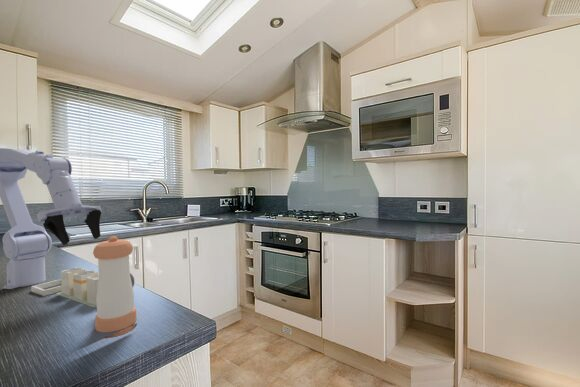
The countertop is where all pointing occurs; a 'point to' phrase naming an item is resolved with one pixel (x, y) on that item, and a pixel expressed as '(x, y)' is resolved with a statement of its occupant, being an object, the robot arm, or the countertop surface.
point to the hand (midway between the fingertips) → (82, 240)
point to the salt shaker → (114, 288)
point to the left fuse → (69, 279)
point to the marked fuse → (81, 283)
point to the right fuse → (92, 288)
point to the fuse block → (77, 298)
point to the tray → (40, 288)
